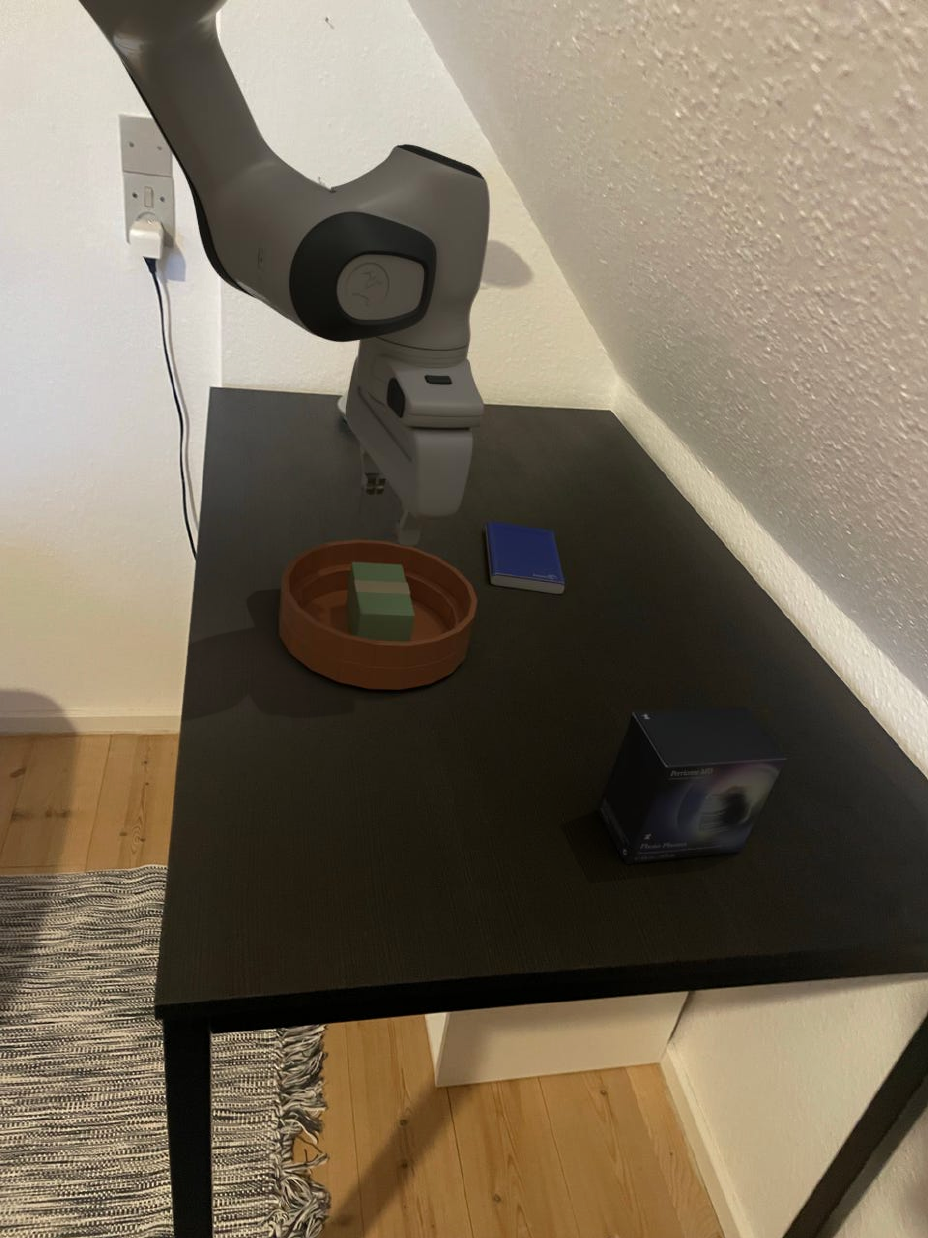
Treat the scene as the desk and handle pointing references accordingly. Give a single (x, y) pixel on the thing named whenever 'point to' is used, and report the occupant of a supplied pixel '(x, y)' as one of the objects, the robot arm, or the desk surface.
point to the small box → (688, 783)
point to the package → (379, 602)
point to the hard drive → (523, 558)
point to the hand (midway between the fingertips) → (388, 515)
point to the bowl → (329, 649)
